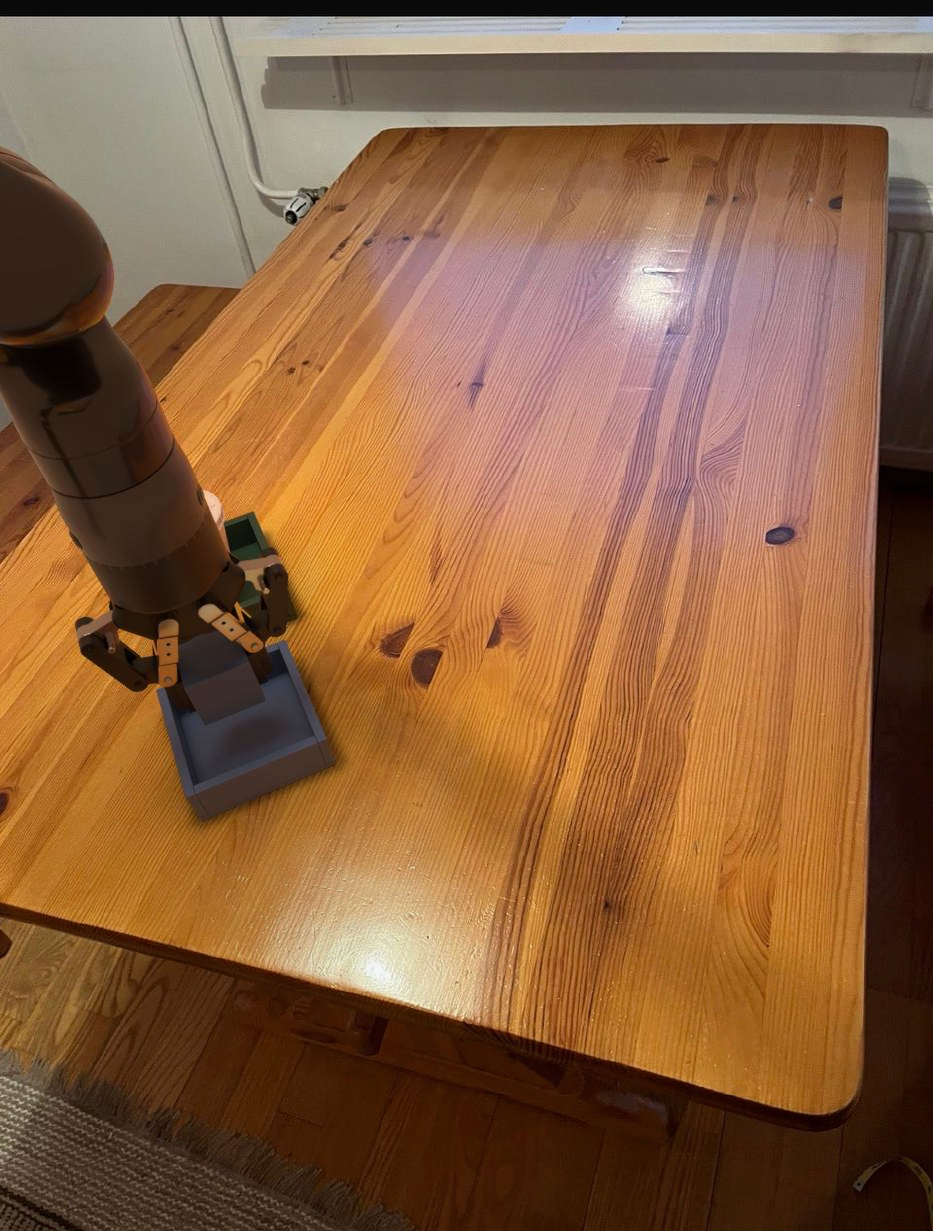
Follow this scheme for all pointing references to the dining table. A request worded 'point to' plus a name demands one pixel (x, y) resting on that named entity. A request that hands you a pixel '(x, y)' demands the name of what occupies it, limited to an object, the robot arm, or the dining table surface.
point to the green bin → (250, 558)
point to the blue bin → (248, 743)
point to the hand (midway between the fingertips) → (226, 688)
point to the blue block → (217, 676)
